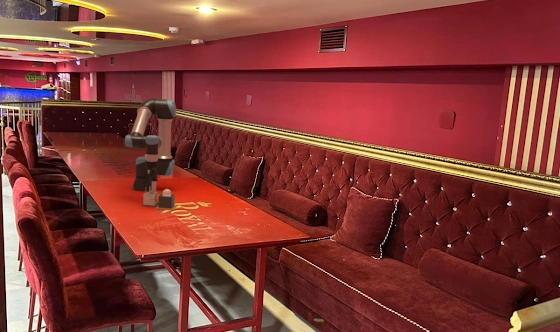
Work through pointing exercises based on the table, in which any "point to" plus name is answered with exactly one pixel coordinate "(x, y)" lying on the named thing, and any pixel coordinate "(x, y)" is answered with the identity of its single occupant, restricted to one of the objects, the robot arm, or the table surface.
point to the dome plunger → (167, 193)
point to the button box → (166, 202)
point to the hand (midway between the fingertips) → (150, 194)
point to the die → (151, 199)
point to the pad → (150, 205)
